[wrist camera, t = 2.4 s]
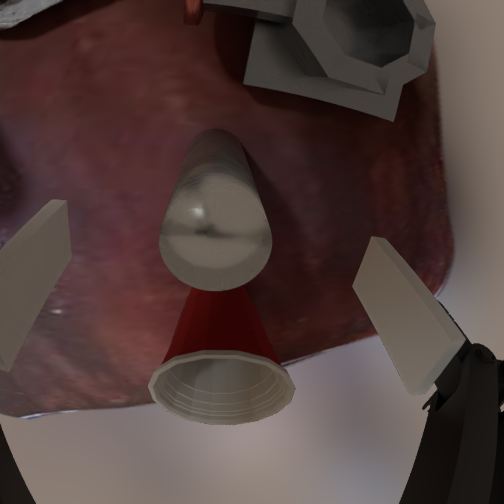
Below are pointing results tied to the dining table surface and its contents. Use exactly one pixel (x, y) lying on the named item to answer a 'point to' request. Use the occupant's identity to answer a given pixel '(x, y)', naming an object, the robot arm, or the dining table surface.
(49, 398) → the dining table surface
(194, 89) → the dining table surface
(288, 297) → the dining table surface
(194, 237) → the pipe stub
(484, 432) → the robot arm
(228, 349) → the plastic cup
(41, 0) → the food plate
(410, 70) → the valve body
